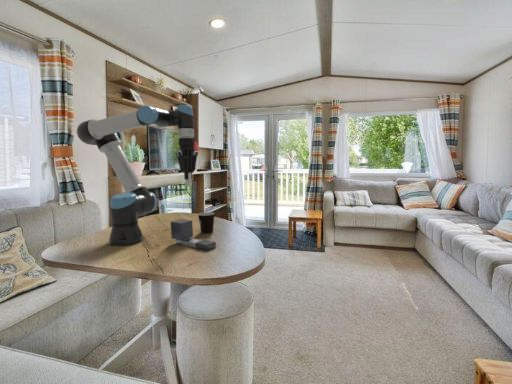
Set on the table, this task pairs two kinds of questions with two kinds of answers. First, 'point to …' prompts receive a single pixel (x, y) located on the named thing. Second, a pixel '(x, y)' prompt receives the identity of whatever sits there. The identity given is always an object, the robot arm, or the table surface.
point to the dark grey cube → (181, 229)
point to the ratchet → (197, 243)
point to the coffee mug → (206, 222)
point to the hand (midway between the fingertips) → (188, 185)
